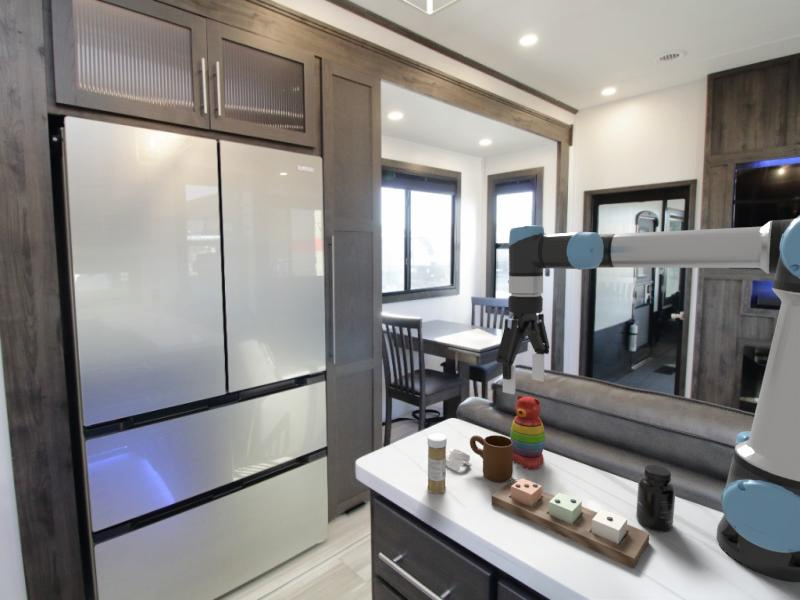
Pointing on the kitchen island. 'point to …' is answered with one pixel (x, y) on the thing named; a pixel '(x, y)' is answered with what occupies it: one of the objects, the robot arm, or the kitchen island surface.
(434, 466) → the sprinkles bottle
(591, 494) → the kitchen island surface
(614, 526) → the one-pip button
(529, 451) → the stacking bear
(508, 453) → the mug
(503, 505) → the button board
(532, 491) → the three-pip button
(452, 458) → the crumpled white paper
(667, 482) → the supplement bottle
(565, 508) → the two-pip button
